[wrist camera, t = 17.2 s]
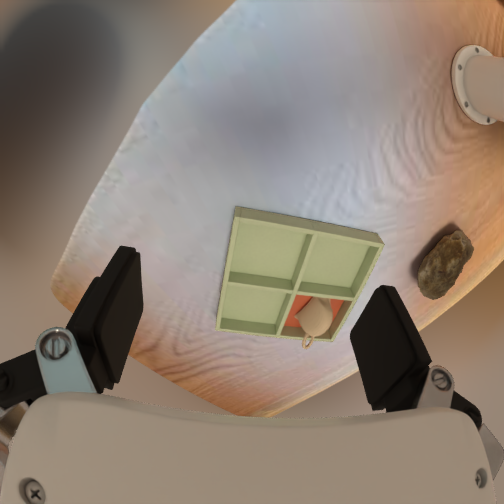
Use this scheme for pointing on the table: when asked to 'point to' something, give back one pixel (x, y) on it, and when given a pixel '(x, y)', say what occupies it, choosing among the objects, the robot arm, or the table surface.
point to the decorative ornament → (315, 318)
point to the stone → (444, 264)
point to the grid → (291, 273)
